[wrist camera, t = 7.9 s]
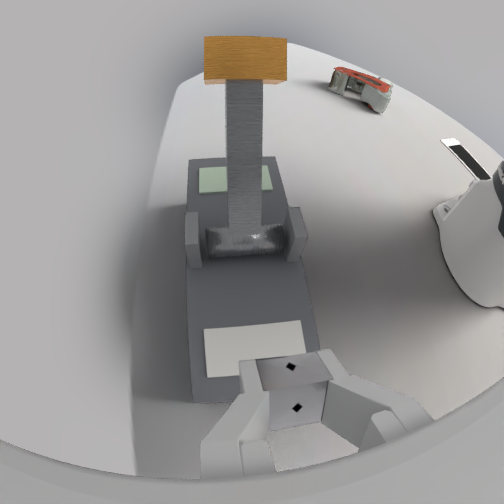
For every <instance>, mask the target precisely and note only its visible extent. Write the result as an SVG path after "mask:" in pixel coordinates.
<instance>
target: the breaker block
mask: <svg viewBox="0 0 504 504" xmlns="http://www.w3.org/2000/svg"><path fill="white" fill-rule="evenodd" d="M261 224H281V225H282V227H283V231H284V241H285V242H284V251H283V253H277V254H262V255H247V256H231V257H216V258H207V253H206V239H205V228H208V227H225V226H228V215H227V180H226V158H208V159H192V160H189V166H188V186H187V213H185V248H186V293H187V323H188V344H189V360H190V374H191V386H192V398H193V403H218V402H231V401H234V400H235V399H236V398H237V396H238V395H239V394H241V392H240V380H239V365H238V363H239V360H250V359H254V360H255V359H261V358H271V357H281V356H291V355H297V354H304V353H310V352H314V351H318V350H320V345H319V340H318V335H317V330H316V325H315V320H314V315H313V310H312V305H311V301H310V296H309V291H308V287H307V282H306V278H305V273H304V269H303V264H302V260H301V256H300V255H301V252H302V250H303V248H304V245H305V243H306V240H307V238H308V236H307V232H306V229H305V225H304V221H303V218H302V214H301V210H300V207H288V203H287V199H286V195H285V191H284V188H283V184H282V180H281V176H280V173H279V169H278V165H277V162H276V158H275V157H262V200H261Z"/></svg>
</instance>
